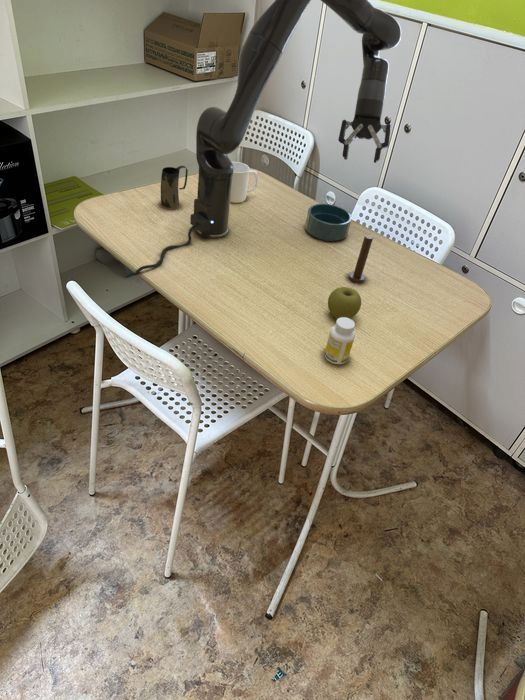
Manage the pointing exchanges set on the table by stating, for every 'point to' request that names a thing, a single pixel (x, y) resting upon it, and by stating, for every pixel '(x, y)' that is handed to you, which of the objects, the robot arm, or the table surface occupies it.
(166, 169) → the mug
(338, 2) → the robot arm
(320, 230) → the bowl
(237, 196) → the cup
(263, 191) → the table surface
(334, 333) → the supplement bottle
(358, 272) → the brown rod with base
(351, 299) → the apple
